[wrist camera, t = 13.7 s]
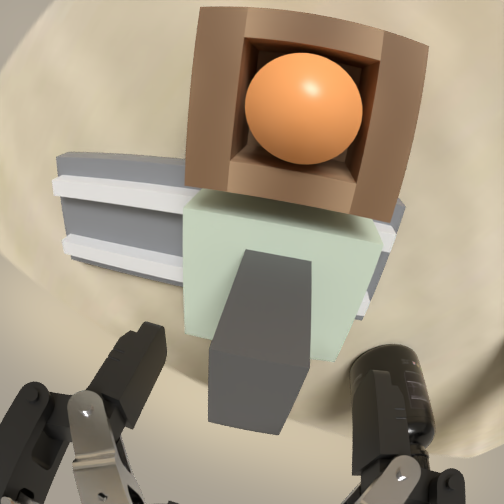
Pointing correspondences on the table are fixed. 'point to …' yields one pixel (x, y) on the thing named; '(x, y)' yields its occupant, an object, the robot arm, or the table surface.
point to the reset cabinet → (271, 167)
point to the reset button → (303, 108)
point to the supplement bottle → (411, 386)
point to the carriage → (270, 297)
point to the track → (145, 215)
